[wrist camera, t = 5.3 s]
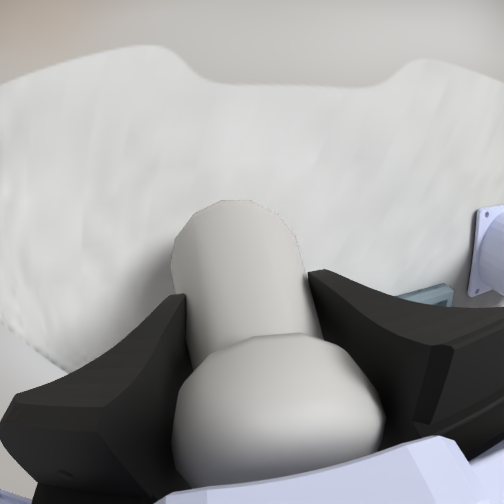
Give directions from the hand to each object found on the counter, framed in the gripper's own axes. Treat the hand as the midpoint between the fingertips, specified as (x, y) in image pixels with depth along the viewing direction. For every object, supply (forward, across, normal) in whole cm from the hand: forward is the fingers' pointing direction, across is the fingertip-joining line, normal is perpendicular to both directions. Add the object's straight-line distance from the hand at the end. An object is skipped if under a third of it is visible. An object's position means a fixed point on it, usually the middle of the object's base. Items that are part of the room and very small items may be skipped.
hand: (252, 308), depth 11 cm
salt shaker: (+6, 0, 0) cm, 7 cm away
